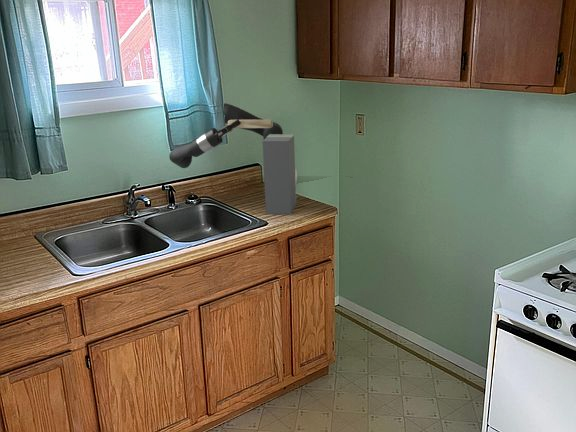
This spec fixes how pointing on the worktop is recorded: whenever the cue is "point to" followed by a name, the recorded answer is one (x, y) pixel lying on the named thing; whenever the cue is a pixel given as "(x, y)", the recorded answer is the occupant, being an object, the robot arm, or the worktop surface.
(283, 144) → the tall grey upright prism
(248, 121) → the birch slat
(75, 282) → the worktop surface
